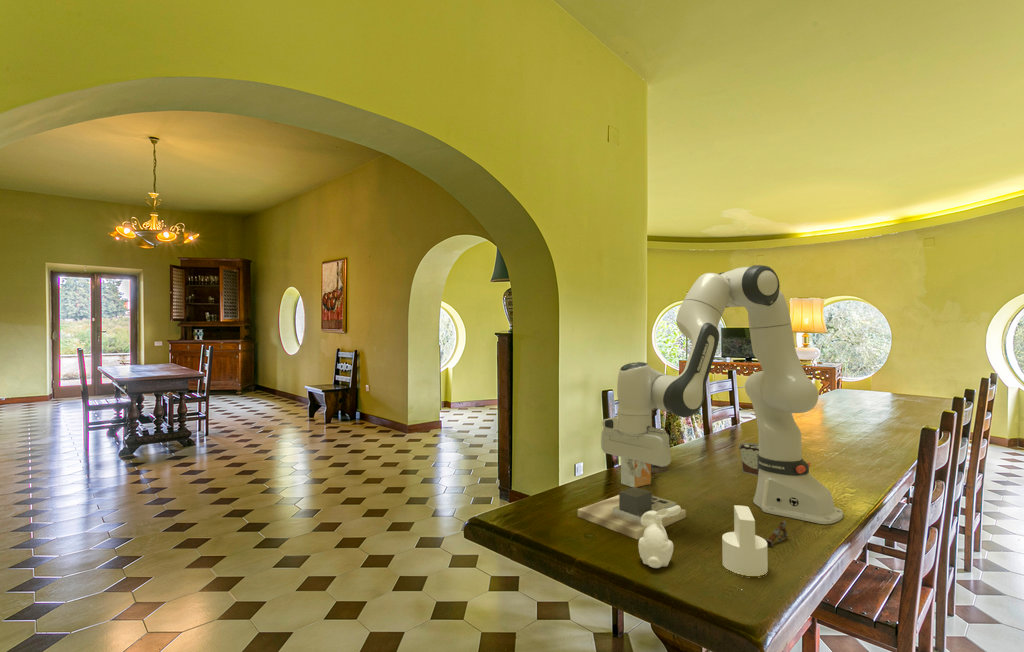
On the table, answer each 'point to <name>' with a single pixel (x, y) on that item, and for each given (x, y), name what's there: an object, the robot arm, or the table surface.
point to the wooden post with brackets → (776, 533)
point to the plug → (635, 500)
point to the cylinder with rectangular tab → (744, 546)
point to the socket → (636, 519)
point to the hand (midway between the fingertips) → (634, 476)
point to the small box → (635, 481)
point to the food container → (749, 457)
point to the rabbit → (656, 538)
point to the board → (604, 517)
